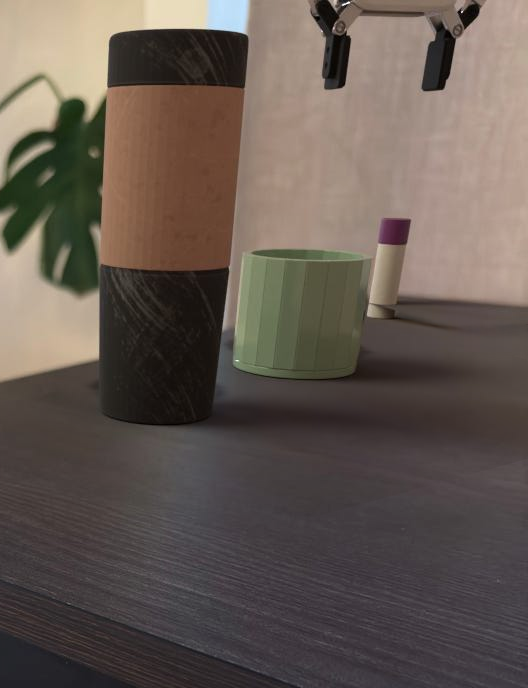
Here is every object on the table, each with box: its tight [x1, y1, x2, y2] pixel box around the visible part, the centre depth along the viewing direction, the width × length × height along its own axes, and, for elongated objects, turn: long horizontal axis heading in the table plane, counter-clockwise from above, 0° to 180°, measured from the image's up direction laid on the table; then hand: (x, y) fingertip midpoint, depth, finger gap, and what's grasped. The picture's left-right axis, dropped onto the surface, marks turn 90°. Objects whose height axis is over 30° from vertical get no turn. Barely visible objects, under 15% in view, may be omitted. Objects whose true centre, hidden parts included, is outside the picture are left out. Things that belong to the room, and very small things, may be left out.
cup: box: [232, 247, 375, 380], centre depth 70 cm, size 9×9×8 cm
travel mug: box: [98, 28, 250, 425], centre depth 55 cm, size 8×8×20 cm
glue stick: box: [366, 217, 412, 320], centre depth 93 cm, size 3×3×9 cm
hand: (383, 89), depth 87 cm, fingers open, 9 cm apart
